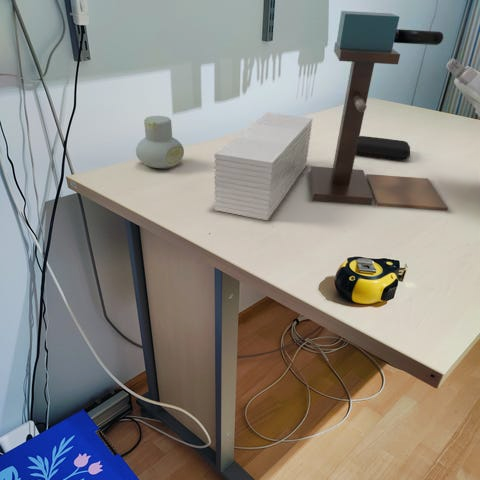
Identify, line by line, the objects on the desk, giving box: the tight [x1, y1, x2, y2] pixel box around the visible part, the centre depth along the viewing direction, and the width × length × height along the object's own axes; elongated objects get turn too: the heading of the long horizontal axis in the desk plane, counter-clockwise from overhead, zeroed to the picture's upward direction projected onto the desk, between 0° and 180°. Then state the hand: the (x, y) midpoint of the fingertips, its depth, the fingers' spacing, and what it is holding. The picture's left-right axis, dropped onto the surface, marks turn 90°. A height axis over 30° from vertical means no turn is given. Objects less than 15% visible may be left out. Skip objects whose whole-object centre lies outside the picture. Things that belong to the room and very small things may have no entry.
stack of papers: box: [214, 112, 313, 221], centre depth 88 cm, size 32×11×11 cm, turn 160°
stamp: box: [336, 10, 444, 52], centre depth 74 cm, size 18×7×5 cm, turn 85°
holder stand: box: [309, 41, 401, 206], centre depth 84 cm, size 12×18×26 cm, turn 175°
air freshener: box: [135, 115, 185, 169], centre depth 96 cm, size 11×8×10 cm
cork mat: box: [365, 173, 448, 212], centre depth 92 cm, size 14×16×1 cm
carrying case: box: [356, 135, 411, 161], centre depth 111 cm, size 11×3×15 cm
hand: (457, 66), depth 77 cm, fingers open, 8 cm apart
